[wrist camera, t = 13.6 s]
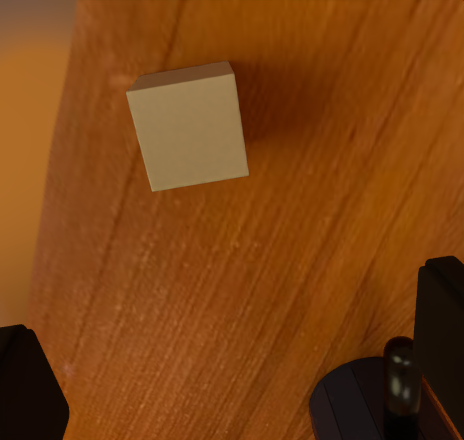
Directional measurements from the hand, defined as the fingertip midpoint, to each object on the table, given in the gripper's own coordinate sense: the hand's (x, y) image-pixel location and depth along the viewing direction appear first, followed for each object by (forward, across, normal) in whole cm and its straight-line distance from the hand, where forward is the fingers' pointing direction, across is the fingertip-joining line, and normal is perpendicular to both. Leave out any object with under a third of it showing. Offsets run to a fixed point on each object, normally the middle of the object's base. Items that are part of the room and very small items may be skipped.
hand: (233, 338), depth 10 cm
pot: (+12, -9, +30) cm, 33 cm away
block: (+17, +1, -2) cm, 17 cm away
